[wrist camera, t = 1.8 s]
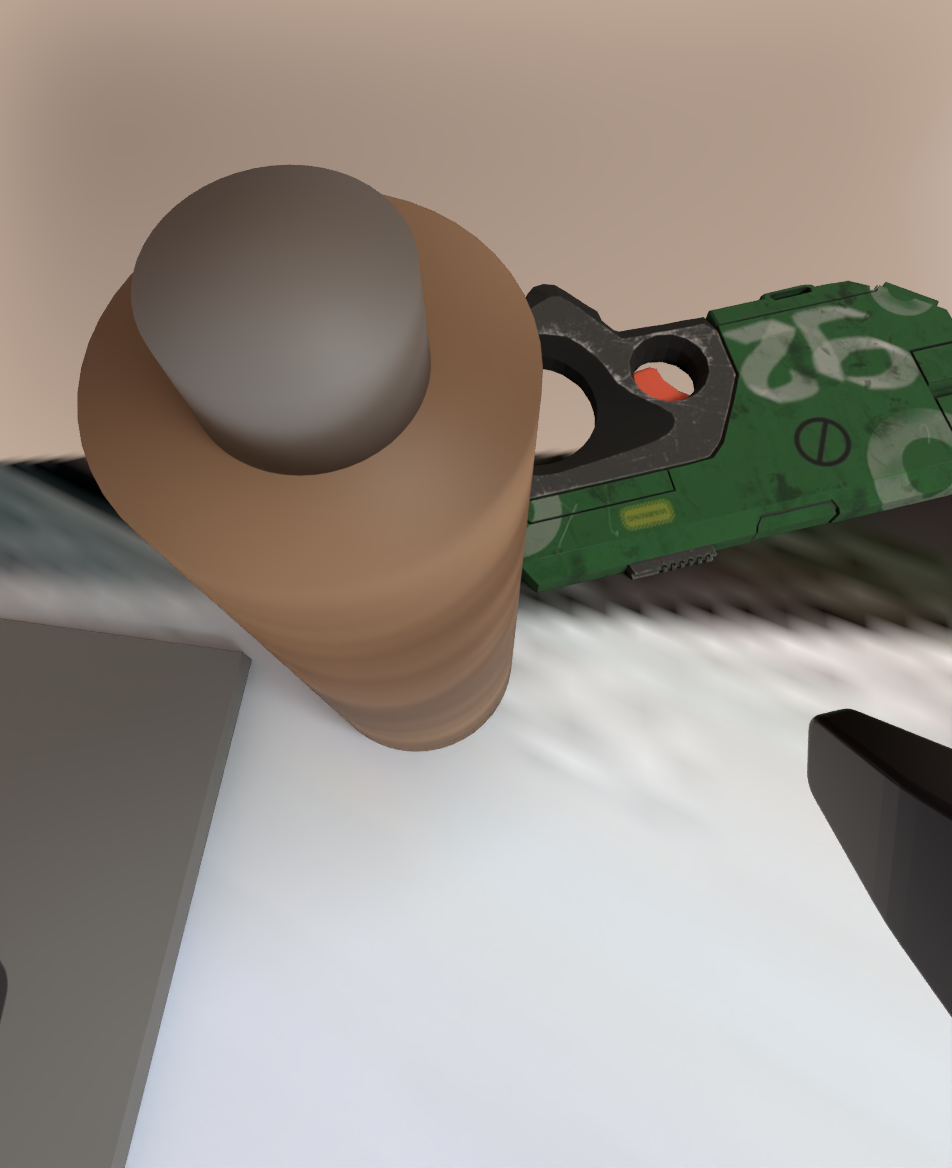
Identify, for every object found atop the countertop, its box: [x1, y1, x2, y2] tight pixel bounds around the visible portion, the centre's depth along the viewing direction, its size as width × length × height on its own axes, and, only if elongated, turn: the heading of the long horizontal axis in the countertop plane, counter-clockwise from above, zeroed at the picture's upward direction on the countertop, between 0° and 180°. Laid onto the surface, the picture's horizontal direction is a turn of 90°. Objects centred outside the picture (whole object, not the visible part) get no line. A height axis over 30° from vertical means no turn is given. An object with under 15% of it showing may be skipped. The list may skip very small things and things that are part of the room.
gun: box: [521, 281, 952, 593], centre depth 23 cm, size 16×2×10 cm
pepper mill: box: [78, 165, 543, 751], centre depth 14 cm, size 5×5×14 cm
